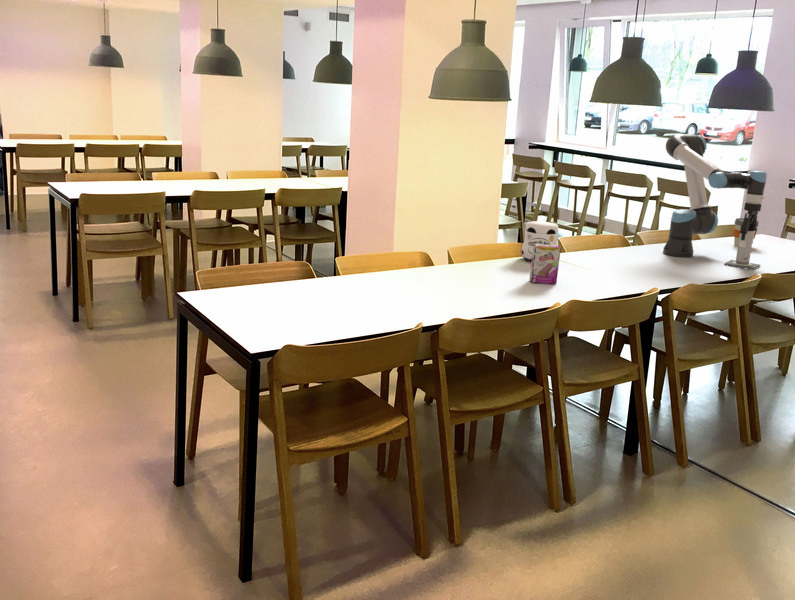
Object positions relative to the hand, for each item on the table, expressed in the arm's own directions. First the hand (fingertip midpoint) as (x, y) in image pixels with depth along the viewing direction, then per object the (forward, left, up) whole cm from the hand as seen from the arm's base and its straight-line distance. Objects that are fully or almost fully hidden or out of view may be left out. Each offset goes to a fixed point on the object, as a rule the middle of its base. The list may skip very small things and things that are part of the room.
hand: (745, 245), depth 383 cm
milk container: (-74, -75, -11) cm, 106 cm away
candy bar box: (-51, -114, -11) cm, 125 cm away
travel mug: (0, 0, -10) cm, 10 cm away
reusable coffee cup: (-16, +59, -11) cm, 62 cm away
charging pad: (0, 0, -11) cm, 11 cm away
